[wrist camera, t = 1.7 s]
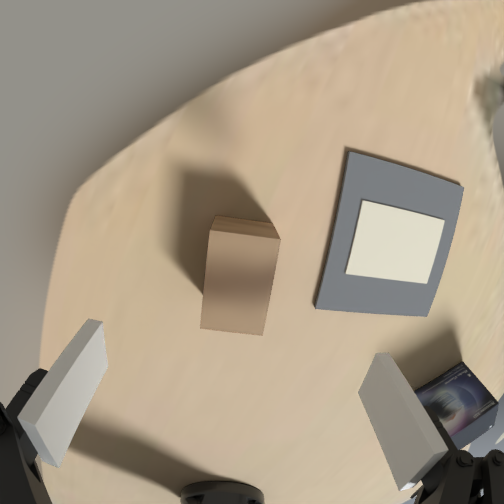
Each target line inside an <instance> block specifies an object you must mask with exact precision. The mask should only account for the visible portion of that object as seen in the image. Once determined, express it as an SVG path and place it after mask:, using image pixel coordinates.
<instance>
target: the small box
mask: <svg viewBox="0 0 504 504" xmlns="http://www.w3.org/2000/svg"><path fill="white" fill-rule="evenodd" d="M414 393H415V394H416V396H417V398H418V399H419V401H420V402H421V404H422V406H426V405H427V406H429V407H430V408H431V409H432V410H433V411H434V412H435V413H436V415H437V416H438V418H439V419H440V421H441V423H442V424H443V428H445V429H446V431H447V432H448V434H449V436H450V437H451V439H452V441H453V442H454V444H455V446H456V447H457V449H458V450H460V449H462V448H463V447H465V446H466V445H468V444H469V443H471V442H472V441H474V440H475V439H476V438H478V437H479V436H481V435H482V434H484V433H485V432H486V431H488V430H489V429H490V428H492V427H493V426H494V424H495V420H496V416H497V411H498V407H499V403H498V402H497V400H496V399H495V398H494V397H493V396H492V394H491V393H490V392H489V391H488V390H487V388H486V387H485V386H484V385H483V384H482V383H481V382H480V381H479V379H478V378H477V377H476V376H475V375H474V374H473V372H472V371H471V370H470V369H469V368H468V367H467V366H466V365H465V363H464V362H461V363H459V364H458V365H456V366H455V367H454V368H452V369H450V370H449V371H447V372H446V373H444V374H443V375H441V376H439V377H438V378H436V379H434V380H433V381H431V382H429V383H428V384H426V385H424V386H423V387H421V388H419V389H417V390H416V391H414Z"/></svg>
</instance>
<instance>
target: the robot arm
mask: <svg viewBox="0 0 504 504" xmlns="http://www.w3.org/2000/svg"><path fill="white" fill-rule="evenodd" d="M107 368H108V362H107V355H106V347H105V339H104V330H103V322H102V321H97V320H93V319H88V320H87V321H86V322H85V324H84V325H83V326H82V327H81V329H80V330H79V331H78V332H77V334H76V335H75V336H74V338H73V339H72V340H71V342H70V343H69V344H68V345H67V347H66V348H65V349H64V351H63V352H62V353H61V355H60V356H59V358H58V359H57V360H56V362H55V363H54V364H53V366H52V367H51V368H50V370H49V371H46V370H44V369H41V368H40V369H38V370H37V371H35V372H33V373H32V374H31V375H30V376H29V377H28V379H27V380H26V381H25V384H23V385H22V387H21V388H20V391H18V392H17V393H16V395H15V396H14V398H13V399H12V401H11V402H10V404H9V405H8V406H7V408H6V409H5V408H4V406H3V404H2V403H1V402H0V504H52V502H51V500H50V497H49V495H48V493H47V490H46V488H45V485H44V482H43V480H42V477H41V474H40V472H39V469H38V466H37V463H36V461H35V458H36V456H37V454H39V456H40V458H41V459H42V461H44V462H46V463H48V464H50V465H53V466H55V467H58V468H59V467H60V465H61V463H62V460H63V458H64V456H65V454H66V451H67V449H68V447H69V445H70V442H71V440H72V438H73V436H74V434H75V432H76V430H77V427H78V425H79V423H80V421H81V419H82V417H83V415H84V413H85V411H86V409H87V407H88V405H89V403H90V401H91V399H92V397H93V395H94V393H95V391H96V389H97V387H98V385H99V383H100V381H101V379H102V377H103V375H104V374H105V372H106V370H107ZM358 394H359V396H360V398H361V400H362V403H363V405H364V407H365V410H366V412H367V414H368V417H369V419H370V421H371V424H372V426H373V428H374V431H375V433H376V435H377V438H378V440H379V442H380V445H381V447H382V450H383V452H384V455H385V457H386V459H387V462H388V464H389V467H390V469H391V472H392V474H393V477H394V479H395V482H396V484H397V487H398V489H399V491H401V490H405V489H409V488H412V487H414V486H415V485H416V484H417V483H418V482H419V481H420V480H421V481H422V483H423V485H422V486H421V487H420V488H419V489H418V490H417V491H416V492H415V493H414V494H413V495H412V496H411V498H414V497H415V496H416V495H417V497H416V499H415V502H414V504H504V453H503V452H502V451H500V450H496V449H495V450H491V451H490V452H489V453H488V454H487V455H486V456H485V457H476V458H475V457H473V456H472V455H471V454H470V453H469V452H467V451H465V450H458V449H457V447H456V446H455V444H454V442H453V441H452V439H451V437H450V436H449V434H448V432H447V431H446V429H445V428H443V424H442V423H441V421H440V419H439V418H438V416H437V415H436V413H435V412H434V411H433V410H432V409H431V408H430V407H429V406H427V405H426V406H422V404H421V402H420V401H419V399H418V398H417V396H416V394H415V393H414V391H413V390H412V388H411V386H410V385H409V383H408V382H407V380H406V378H405V377H404V375H403V374H402V372H401V371H400V369H399V368H398V366H397V365H396V363H395V361H394V360H393V358H392V357H391V355H390V354H389V353H376V354H375V357H374V359H373V361H372V364H371V366H370V368H369V370H368V372H367V375H366V377H365V379H364V381H363V383H362V385H361V387H360V389H359V391H358ZM482 490H483V492H484V495H483V496H482V497H481V493H480V492H481V491H482ZM181 504H265V503H264V495H263V493H262V492H261V491H260V490H258V489H256V488H254V487H252V486H248V485H245V484H240V483H234V482H222V481H210V482H200V483H195V484H191V485H189V486H187V487H185V488H184V489H183V490H182V492H181Z"/></svg>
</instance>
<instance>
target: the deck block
mask: <svg viewBox="0 0 504 504" xmlns="http://www.w3.org/2000/svg"><path fill="white" fill-rule="evenodd" d="M280 241H281V239H280V237H279V235H278V233H277V231H276V229H275V227H274V225H273V223H268V222H261V221H254V220H247V219H239V218H232V217H224V216H217V215H216V216H215V218H214V221H213V223H212V226H211V228H210V233H209V242H208V251H207V260H206V270H205V280H204V290H203V301H202V312H201V324H200V328H201V329H208V330H216V331H225V332H233V333H242V334H252V335H262V336H263V331H264V326H265V321H266V316H267V311H268V305H269V300H270V295H271V290H272V285H273V279H274V274H275V269H276V263H277V258H278V252H279V247H280Z"/></svg>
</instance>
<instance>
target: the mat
mask: <svg viewBox="0 0 504 504" xmlns="http://www.w3.org/2000/svg"><path fill="white" fill-rule="evenodd" d="M463 191H464V187H462V186H459V185H457V184H454V183H451V182H448V181H446V180H443V179H440V178H437V177H434V176H432V175H429V174H426V173H423V172H420V171H416V170H413V169H410V168H407V167H404V166H401V165H397V164H394V163H391V162H387V161H384V160H380V159H377V158H373V157H369V156H366V155H362V154H358V153H354V152H350V151H348V154H347V160H346V166H345V171H344V177H343V182H342V187H341V193H340V198H339V203H338V208H337V213H336V217H335V222H334V227H333V232H332V236H331V241H330V245H329V249H328V254H327V258H326V262H325V266H324V271H323V275H322V279H321V283H320V287H319V291H318V295H317V298H316V302H315V306H314V307H315V309H322V310H334V311H346V312H358V313H372V314H387V315H404V316H424V317H427V315H428V313H429V310H430V308H431V305H432V302H433V300H434V297H435V294H436V291H437V288H438V285H439V282H440V279H441V276H442V273H443V270H444V267H445V264H446V260H447V257H448V254H449V250H450V247H451V243H452V239H453V235H454V231H455V227H456V223H457V219H458V215H459V210H460V206H461V201H462V196H463Z"/></svg>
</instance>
